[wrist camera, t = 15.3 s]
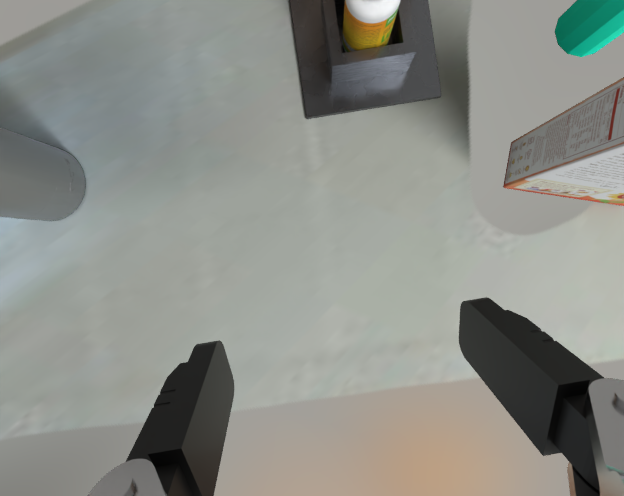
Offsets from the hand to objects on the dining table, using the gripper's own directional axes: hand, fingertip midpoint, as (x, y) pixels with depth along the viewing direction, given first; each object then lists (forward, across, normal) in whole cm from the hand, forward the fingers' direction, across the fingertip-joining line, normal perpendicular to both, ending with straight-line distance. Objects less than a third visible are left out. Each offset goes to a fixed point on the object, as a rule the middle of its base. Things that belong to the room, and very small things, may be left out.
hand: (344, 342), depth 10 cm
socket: (+33, -10, -16) cm, 38 cm away
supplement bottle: (+33, -10, -16) cm, 38 cm away
